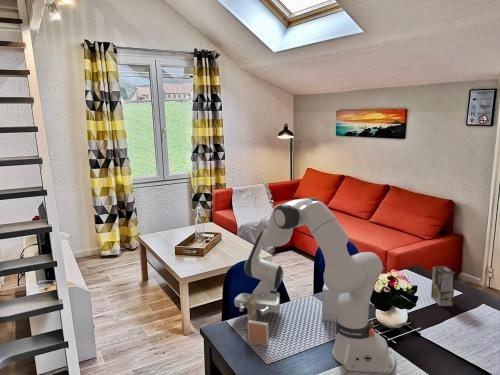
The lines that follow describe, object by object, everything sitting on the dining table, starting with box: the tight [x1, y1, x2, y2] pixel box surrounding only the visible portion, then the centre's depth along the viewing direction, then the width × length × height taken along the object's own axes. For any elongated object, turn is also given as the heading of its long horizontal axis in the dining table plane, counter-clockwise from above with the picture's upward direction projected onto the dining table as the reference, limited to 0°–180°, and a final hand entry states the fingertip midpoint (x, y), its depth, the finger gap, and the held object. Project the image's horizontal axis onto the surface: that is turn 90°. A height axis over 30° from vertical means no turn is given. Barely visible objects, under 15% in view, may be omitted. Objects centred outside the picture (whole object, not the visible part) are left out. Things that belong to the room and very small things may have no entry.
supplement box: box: [321, 283, 341, 323], centre depth 167 cm, size 9×9×15 cm
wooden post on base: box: [244, 296, 258, 332], centre depth 162 cm, size 5×7×14 cm
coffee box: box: [430, 265, 456, 307], centre depth 177 cm, size 9×6×16 cm
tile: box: [247, 320, 270, 346], centre depth 151 cm, size 8×2×9 cm, turn 70°
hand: (251, 311), depth 161 cm, fingers open, 8 cm apart
